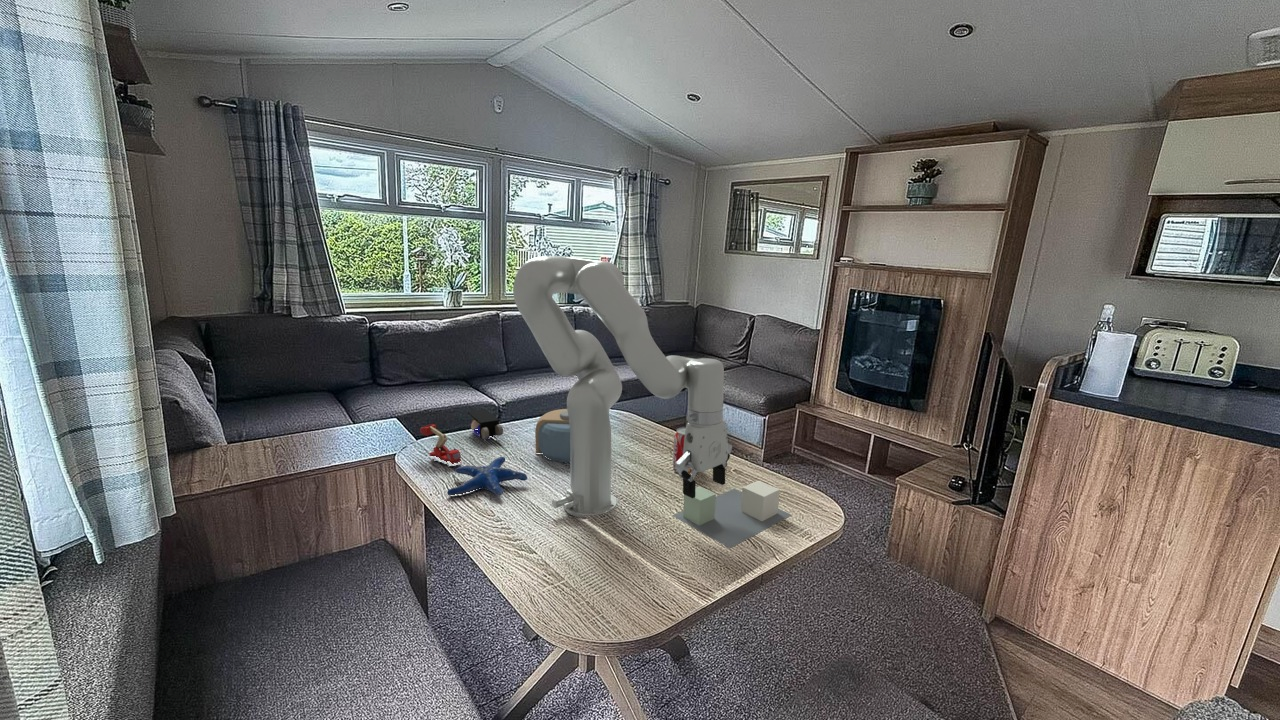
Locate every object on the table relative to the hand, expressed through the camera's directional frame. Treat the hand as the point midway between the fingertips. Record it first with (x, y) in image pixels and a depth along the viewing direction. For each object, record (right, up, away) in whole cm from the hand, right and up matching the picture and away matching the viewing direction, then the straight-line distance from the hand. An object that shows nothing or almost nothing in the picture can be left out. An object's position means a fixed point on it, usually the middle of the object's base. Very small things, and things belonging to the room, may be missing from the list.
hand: (704, 489), depth 117 cm
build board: (+7, -8, +3) cm, 11 cm away
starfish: (-54, -4, +16) cm, 57 cm away
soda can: (-2, -2, +28) cm, 29 cm away
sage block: (-1, -7, +2) cm, 7 cm away
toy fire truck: (-70, 0, +31) cm, 77 cm away
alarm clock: (-36, +1, +41) cm, 54 cm away
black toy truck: (-64, +4, +51) cm, 82 cm away
